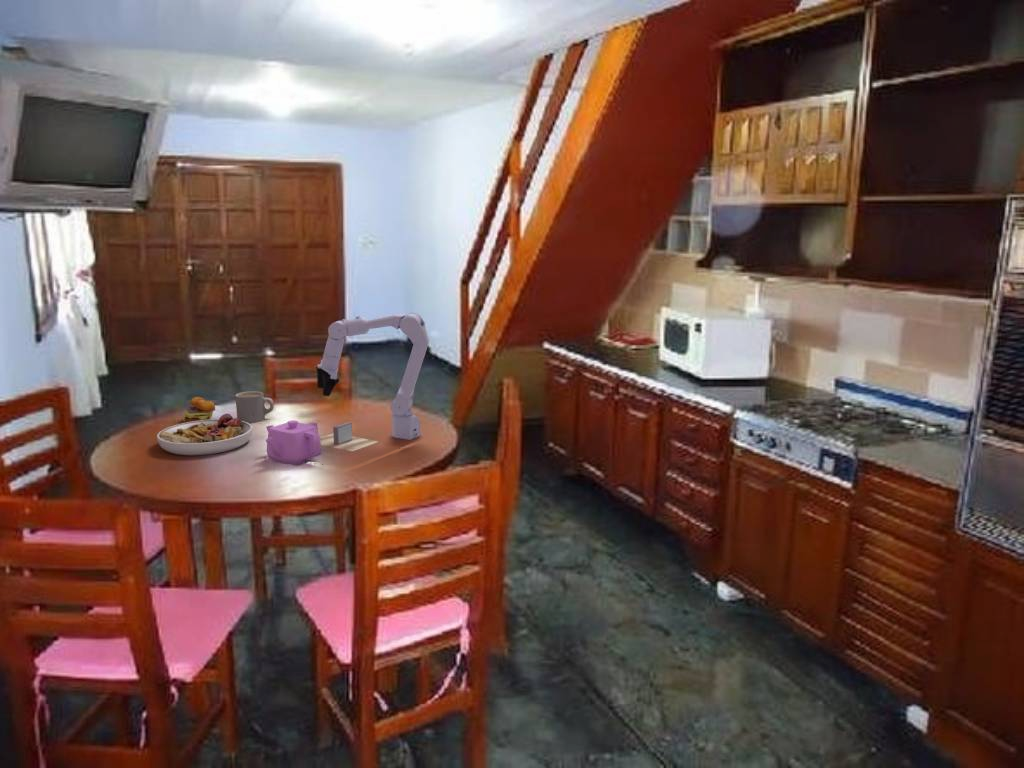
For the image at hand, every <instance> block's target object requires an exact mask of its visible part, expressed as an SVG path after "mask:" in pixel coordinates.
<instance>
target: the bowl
mask: <svg viewBox="0 0 1024 768" xmlns="http://www.w3.org/2000/svg"><path fill="white" fill-rule="evenodd" d="M252 435H253V425H252V423H247V422H244V421H241V420H240V419H239V418H237V417H233V416H232V415H231V414H230V413H223V414H222V415H221V416H220V417H219V418H217V419H213V418H211V419H210V420H200V421H192V422H187V421H185V422H182V423H177V424H174V425H171V426H168V427H166V428H163V429H162V430H160V431H159V432H158V433H157V435H156V440H157V443H158V445H159V446H160V447H161V448H162V449H163V450H164V451H165V452H168V453H171V454H175V455H181V456H206V455H214V454H221V453H225V452H229V451H232V450H235V449H237V448H240V447H242V446H243V445H245V444H247V442H249V440H251V438H252Z"/></svg>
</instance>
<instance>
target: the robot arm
mask: <svg viewBox="0 0 1024 768" xmlns="http://www.w3.org/2000/svg"><path fill="white" fill-rule="evenodd" d="M386 327H392V328H394V329H396V330H399V329H400V331H401V332H402V333H403V334H404V335H406V337H408V338H409V339H410V342H411V343H412V344H413V345H412V347H411V348H412V349H411V351H410V354H409V357H408V361H407V365H406V368H405V370H404V374H403V378H402V380H401V383H400V387H399V389H398V390H397V394H396V397H395V398H394V399H393V400H392V401H391V403H390V411H391V425H392V432H391V433H392V434H391V435H392V437H393V438H396V439H402V440H403V439H404V440H408V441H409V440H410V441H411V440H413V439H416V438H419V437H421V421H420V419H419V417H418V416H416V415H414V414H413V413H414V412H413V410H412V408H411V407H412V406H413V404H414V398H413V396H414V392H415V391H414V390H415V386H416V383H417V380H418V377H419V374H420V371H421V368H422V365H423V362H424V358H425V356H426V352H427V349H428V346H429V342H430V341H429V336H428V332H427V329H426V322H425V321H424V320H423V317H422V316H421V315H420V314H419V313H417V312H409V313H406V312H405V313H404V312H403V313H396V314H391V315H385V316H381V317H377V318H372V319H367V318H366V317H364V316H361V315H357V316H355V318H349V319H346V318H343V319H342V320H337V321H335V322H332V323H331V324H330V325H329V326H328V329H327V333H328V337H327V340H326V344H325V348H324V351H323V355H322V359H320V364H317V366H316V367H315V370H316V374H317V375H316V377H317V381H316V382H317V383H316V385H317V389H322V396H325V397H330V395H331V394H332V391H333V390H334V388H335V386H336V385H337V384H338V383H339V382H340V378H339V377H338V371H339V365H340V360H341V357H342V352H343V348H344V345H345V344H344V343H345V339H346V337H354V336H355V337H356V336H360V335H366V334H368V332H369V331H370V329H372V330H373V329H379V328H386Z"/></svg>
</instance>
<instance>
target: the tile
mask: <svg viewBox="0 0 1024 768" xmlns="http://www.w3.org/2000/svg"><path fill="white" fill-rule="evenodd" d="M332 429H333V430H332V431H333V433H334V444H337V445H339V444H342V443H344V442H347V441H350V440H352V436H353V423H352V422H349V421H347V422H344V423H341V424H338V425H334V426H333V427H332ZM333 433H332V434H333Z"/></svg>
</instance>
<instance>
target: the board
mask: <svg viewBox="0 0 1024 768" xmlns="http://www.w3.org/2000/svg"><path fill="white" fill-rule="evenodd" d="M320 442H321V446H324V447H329V448H333V449H338V450H343V451H348V452H351V453H352V452H355V451H358V450H360V449H364V448H366V447H369V446H371V445H373V444H376V443H378V441H377V440H372V439H367V438H364V437H363V438H362V437H357V436H353V435H352V440H350V441H347V442H344V443H342V444H339V445H337V444H334V433H331V434H328V435H324V436H321V437H320Z"/></svg>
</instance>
